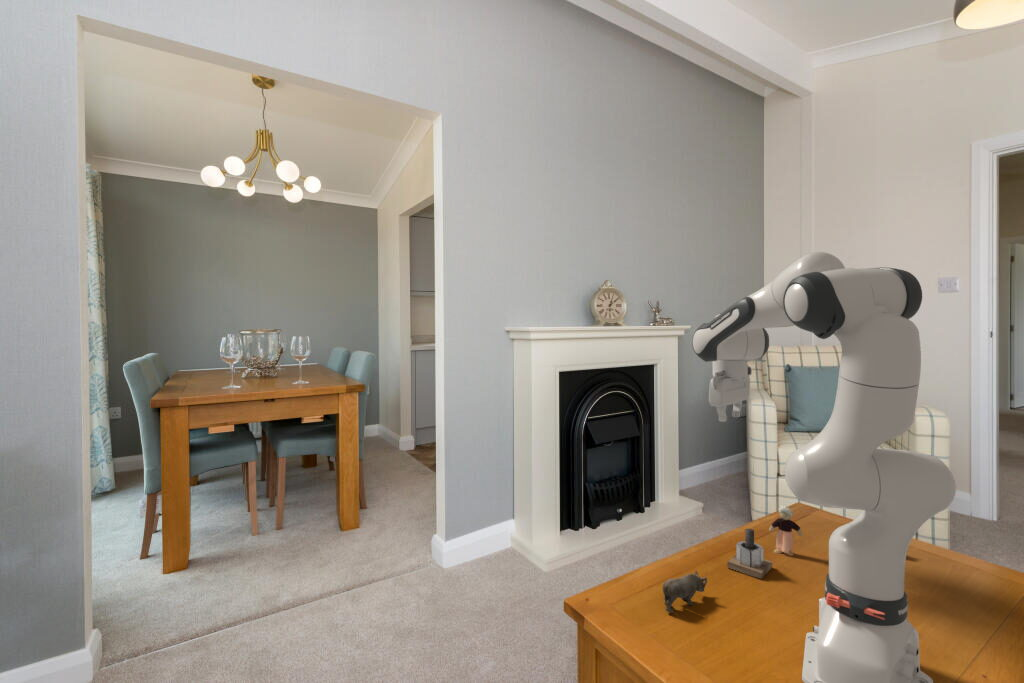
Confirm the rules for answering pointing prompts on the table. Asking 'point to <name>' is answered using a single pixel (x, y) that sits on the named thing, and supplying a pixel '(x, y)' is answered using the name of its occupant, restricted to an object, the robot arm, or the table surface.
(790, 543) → the grandmother figurine
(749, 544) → the post block
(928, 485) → the robot arm
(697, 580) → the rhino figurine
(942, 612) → the table surface
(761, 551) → the steel ring
